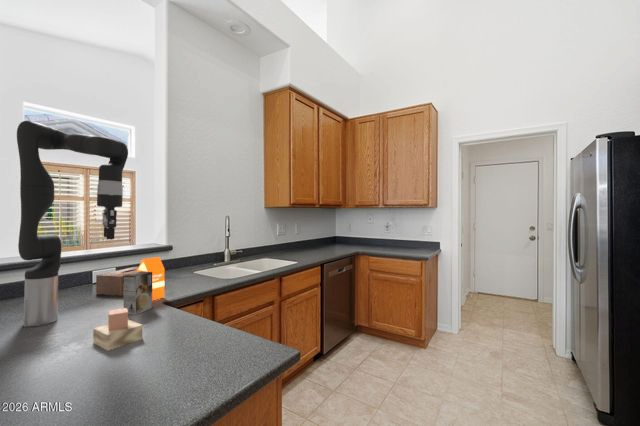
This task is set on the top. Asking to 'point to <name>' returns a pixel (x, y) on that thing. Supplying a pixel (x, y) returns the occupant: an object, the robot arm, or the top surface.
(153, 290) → the orange juice
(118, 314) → the terracotta cube
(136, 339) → the birch block
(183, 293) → the top surface
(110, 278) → the tissue box cover
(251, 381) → the top surface
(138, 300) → the coffee box
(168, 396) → the top surface
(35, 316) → the robot arm
